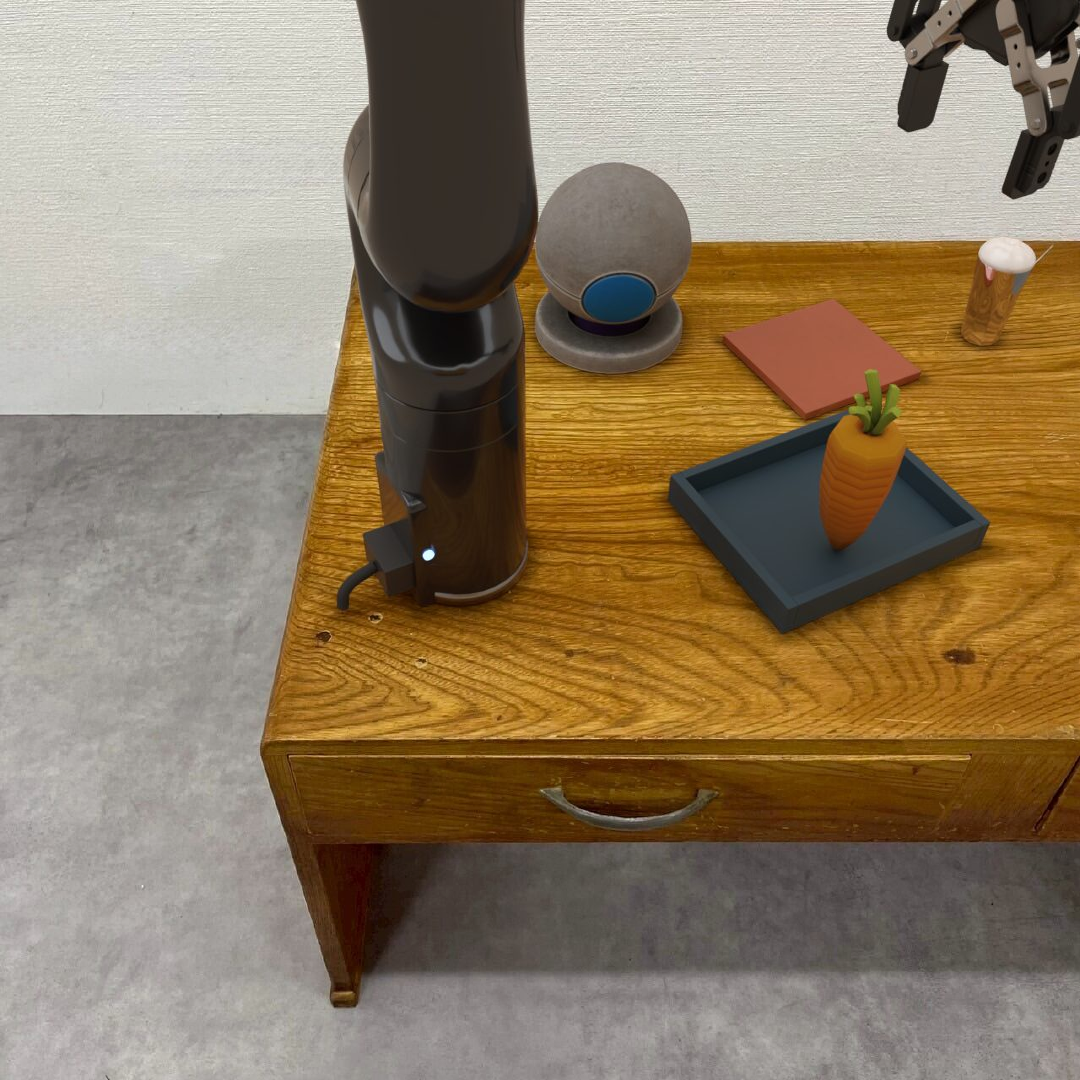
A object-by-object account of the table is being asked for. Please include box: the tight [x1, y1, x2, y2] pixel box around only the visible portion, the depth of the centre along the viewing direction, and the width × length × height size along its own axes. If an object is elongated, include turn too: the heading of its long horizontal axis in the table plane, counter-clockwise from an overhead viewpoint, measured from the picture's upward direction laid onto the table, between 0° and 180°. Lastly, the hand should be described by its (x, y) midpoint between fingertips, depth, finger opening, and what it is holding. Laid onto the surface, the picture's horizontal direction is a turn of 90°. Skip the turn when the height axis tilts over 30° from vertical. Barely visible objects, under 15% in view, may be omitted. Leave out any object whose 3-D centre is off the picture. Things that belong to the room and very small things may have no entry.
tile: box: [721, 298, 922, 421], centre depth 96 cm, size 12×12×1 cm
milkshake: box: [960, 236, 1054, 347], centre depth 95 cm, size 4×5×10 cm
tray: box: [667, 409, 991, 635], centre depth 82 cm, size 18×15×3 cm
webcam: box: [534, 162, 693, 375], centre depth 94 cm, size 13×13×15 cm
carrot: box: [819, 369, 907, 550], centre depth 75 cm, size 5×5×15 cm
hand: (964, 159), depth 64 cm, fingers open, 8 cm apart
